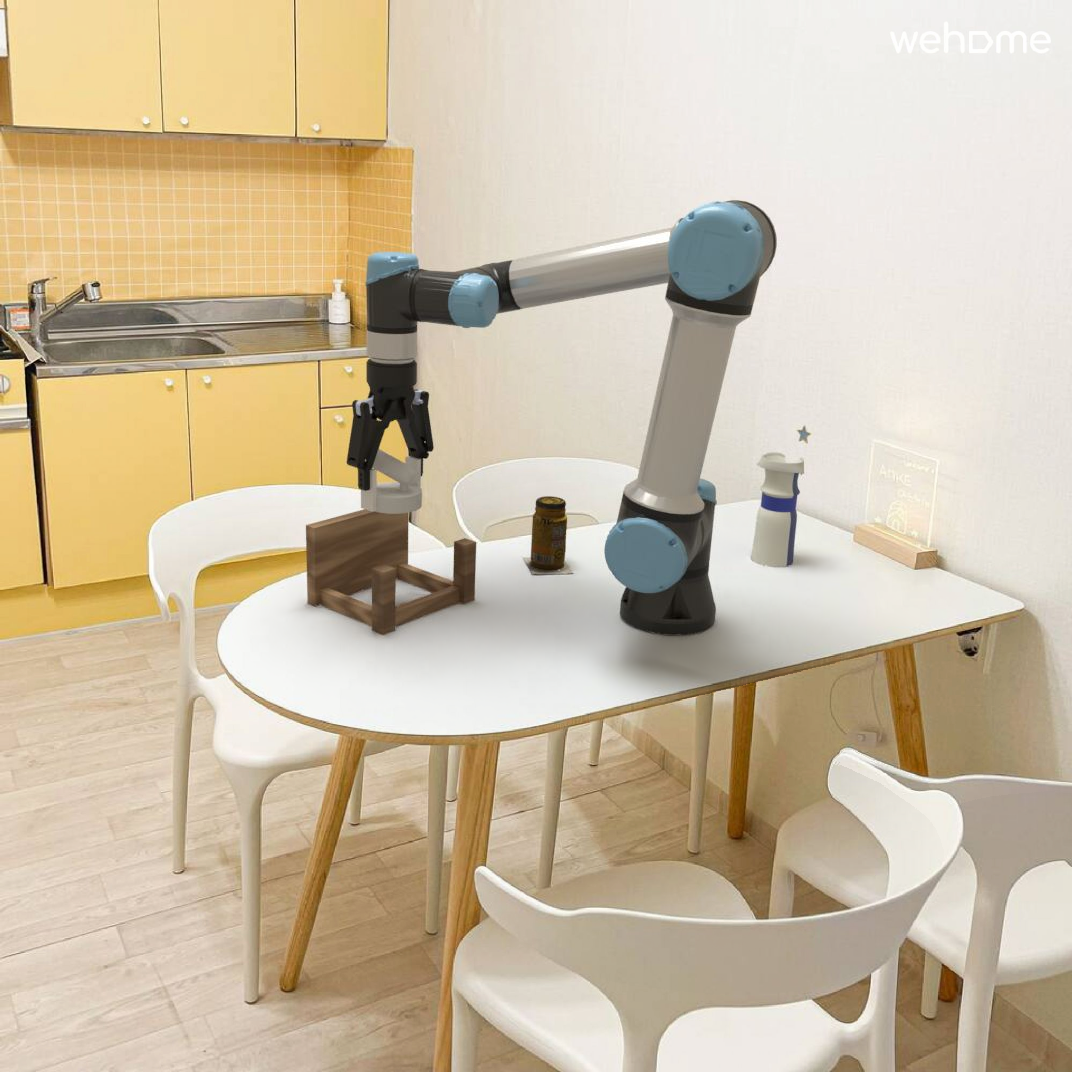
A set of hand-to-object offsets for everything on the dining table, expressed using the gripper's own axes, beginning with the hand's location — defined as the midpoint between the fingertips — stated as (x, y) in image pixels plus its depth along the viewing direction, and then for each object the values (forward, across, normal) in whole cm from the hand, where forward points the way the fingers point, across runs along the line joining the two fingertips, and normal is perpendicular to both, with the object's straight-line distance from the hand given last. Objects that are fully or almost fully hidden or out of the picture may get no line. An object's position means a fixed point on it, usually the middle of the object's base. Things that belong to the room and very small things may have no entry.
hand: (391, 503), depth 180 cm
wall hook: (0, 0, 0) cm, 0 cm away
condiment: (+17, -31, +7) cm, 36 cm away
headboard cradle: (+16, 0, 0) cm, 16 cm away
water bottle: (+17, -64, +33) cm, 74 cm away
